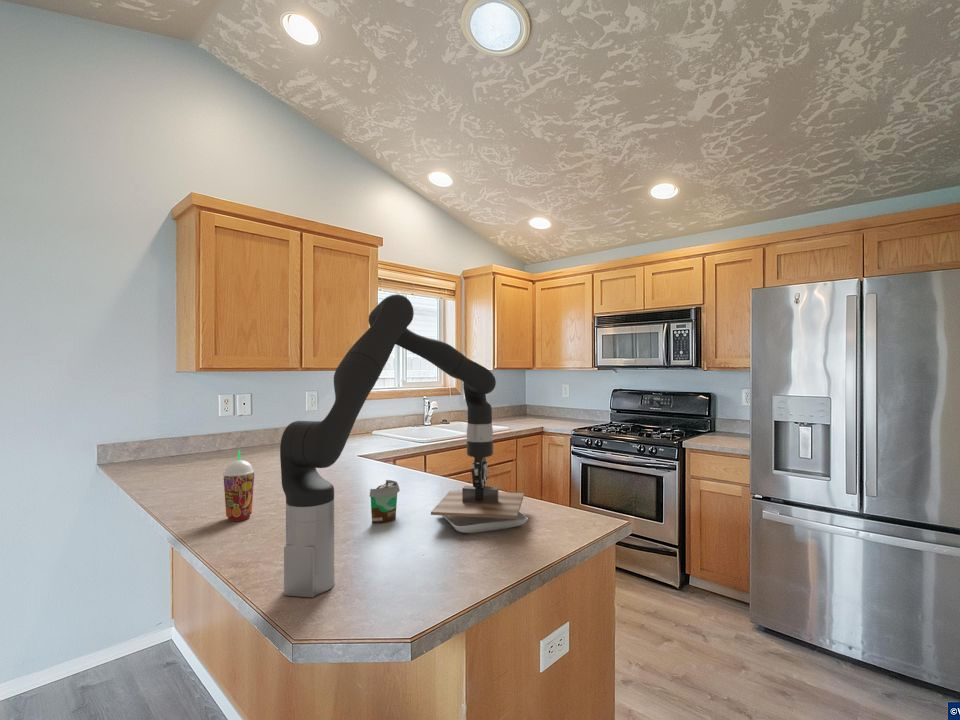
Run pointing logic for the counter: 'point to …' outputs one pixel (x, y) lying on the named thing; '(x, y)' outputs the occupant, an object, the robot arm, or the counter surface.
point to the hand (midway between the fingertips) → (480, 498)
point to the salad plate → (483, 523)
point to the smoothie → (238, 489)
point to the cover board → (480, 503)
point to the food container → (384, 502)
